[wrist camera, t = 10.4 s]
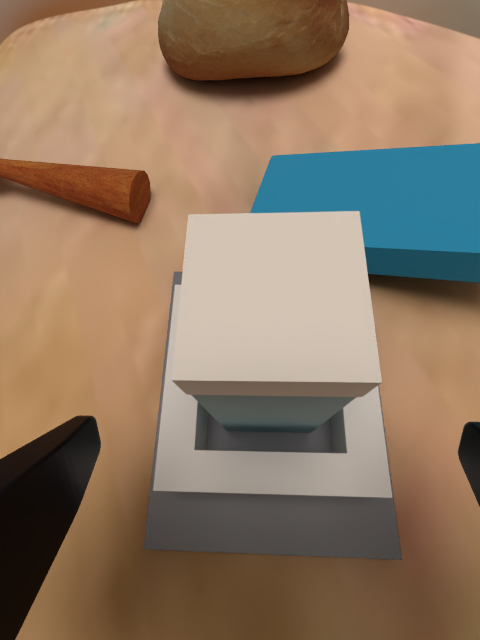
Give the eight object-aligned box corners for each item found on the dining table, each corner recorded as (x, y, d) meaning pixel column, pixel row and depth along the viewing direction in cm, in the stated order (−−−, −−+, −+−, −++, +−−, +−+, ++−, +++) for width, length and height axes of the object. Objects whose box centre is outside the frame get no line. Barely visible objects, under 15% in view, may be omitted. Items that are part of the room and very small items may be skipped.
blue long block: (269, 299, 26) (583, 338, 19) (239, 240, 21) (676, 263, 13) (293, 227, 29) (579, 235, 21) (271, 155, 23) (656, 132, 15)
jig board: (392, 553, 16) (433, 581, 12) (151, 543, 17) (117, 566, 13) (358, 279, 21) (379, 237, 17) (178, 281, 22) (160, 241, 18)
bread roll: (349, 100, 28) (380, -34, 20) (160, 111, 28) (124, -14, 21) (336, 26, 31) (358, -109, 24) (170, 38, 32) (142, -90, 25)
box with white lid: (311, 434, 17) (381, 382, 7) (226, 432, 17) (171, 380, 7) (307, 352, 18) (359, 210, 8) (229, 351, 19) (188, 214, 9)
